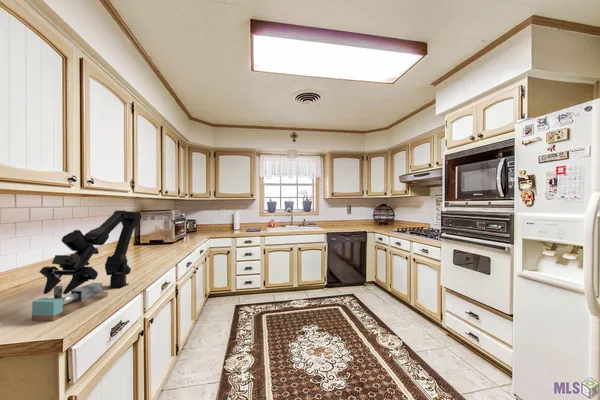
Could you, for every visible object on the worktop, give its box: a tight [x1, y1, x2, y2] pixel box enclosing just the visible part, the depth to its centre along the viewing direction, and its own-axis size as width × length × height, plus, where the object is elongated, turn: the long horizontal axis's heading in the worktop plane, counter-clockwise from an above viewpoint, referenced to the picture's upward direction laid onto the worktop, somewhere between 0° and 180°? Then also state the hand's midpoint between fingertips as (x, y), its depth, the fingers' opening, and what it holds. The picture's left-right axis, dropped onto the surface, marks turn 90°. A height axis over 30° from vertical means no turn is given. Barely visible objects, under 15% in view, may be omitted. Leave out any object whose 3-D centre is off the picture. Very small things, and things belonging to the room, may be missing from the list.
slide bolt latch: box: [31, 282, 109, 322], centre depth 99 cm, size 24×8×6 cm, turn 178°
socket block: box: [31, 297, 63, 316], centre depth 89 cm, size 3×8×5 cm, turn 87°
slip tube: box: [53, 285, 81, 305], centre depth 96 cm, size 13×3×8 cm, turn 178°
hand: (54, 293), depth 91 cm, fingers open, 7 cm apart
